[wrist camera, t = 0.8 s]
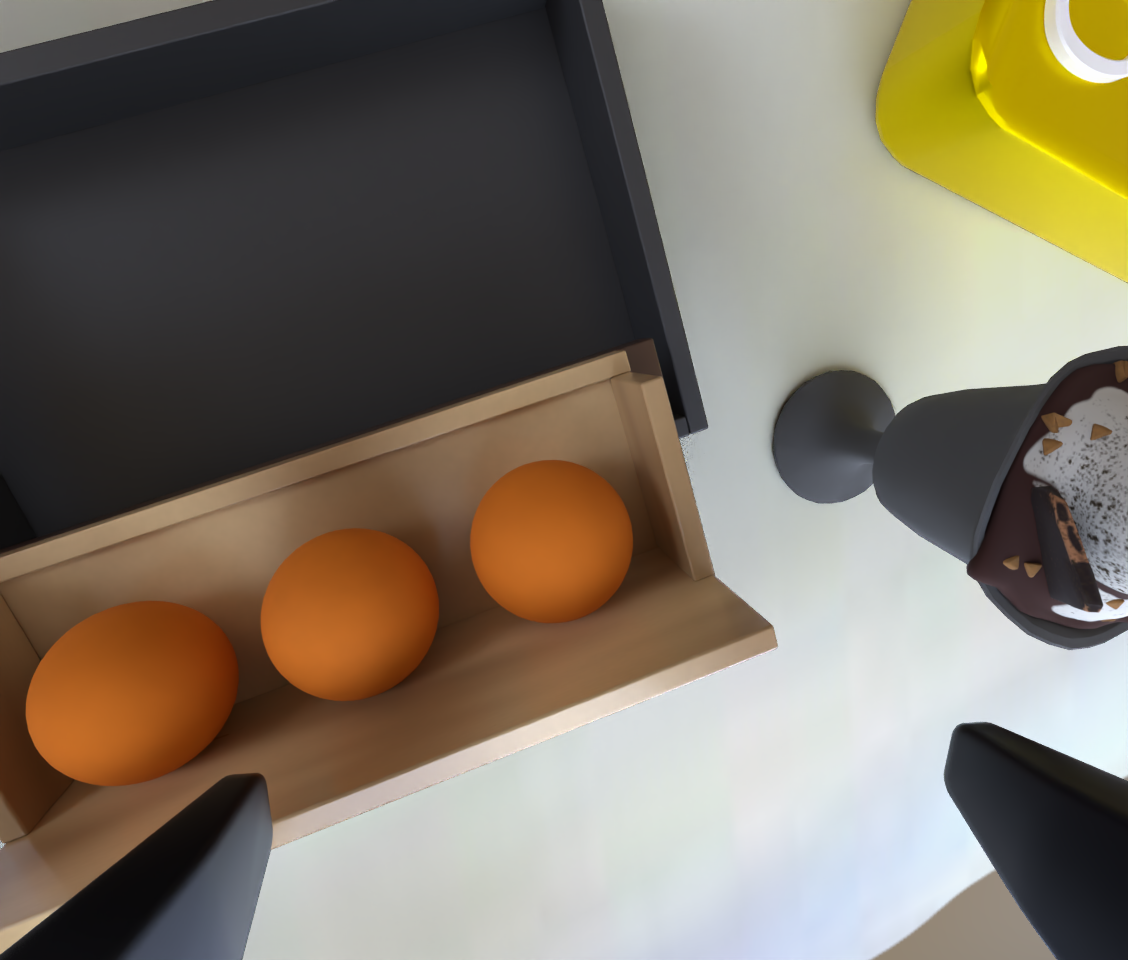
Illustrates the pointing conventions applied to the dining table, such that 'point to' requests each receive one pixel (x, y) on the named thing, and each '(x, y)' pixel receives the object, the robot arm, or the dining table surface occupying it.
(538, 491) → the orange ball
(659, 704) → the dining table surface
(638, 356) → the stand
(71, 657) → the orange ball
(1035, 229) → the yellow flat box
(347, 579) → the orange ball
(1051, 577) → the sundae
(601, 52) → the dark grey tray
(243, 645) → the wooden box
